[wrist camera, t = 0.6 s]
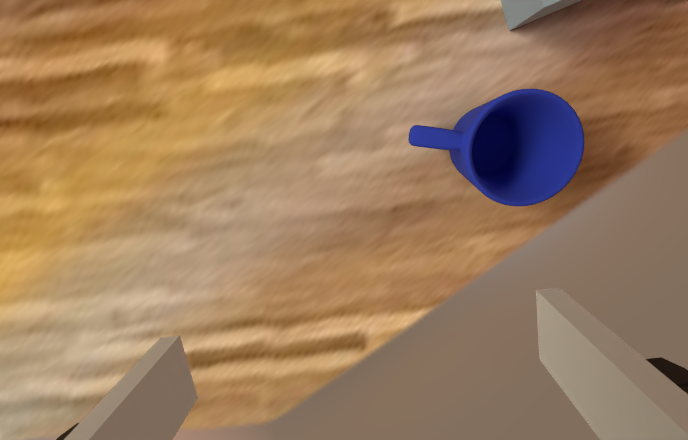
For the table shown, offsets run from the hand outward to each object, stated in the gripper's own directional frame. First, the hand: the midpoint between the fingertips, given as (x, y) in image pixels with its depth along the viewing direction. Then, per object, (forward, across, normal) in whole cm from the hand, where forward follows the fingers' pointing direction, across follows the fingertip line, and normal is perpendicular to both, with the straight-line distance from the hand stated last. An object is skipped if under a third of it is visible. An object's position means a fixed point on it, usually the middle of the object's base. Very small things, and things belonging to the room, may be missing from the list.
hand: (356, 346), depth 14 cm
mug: (+26, +11, +5) cm, 28 cm away
